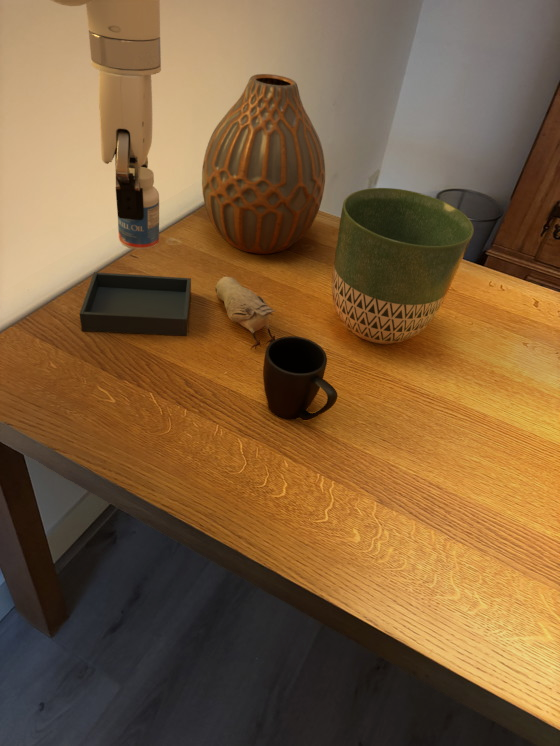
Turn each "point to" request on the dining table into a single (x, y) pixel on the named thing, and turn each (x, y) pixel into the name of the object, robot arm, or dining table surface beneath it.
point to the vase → (264, 168)
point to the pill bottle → (147, 229)
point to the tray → (136, 304)
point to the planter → (395, 261)
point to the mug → (295, 377)
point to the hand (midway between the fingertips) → (134, 206)
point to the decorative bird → (244, 306)
